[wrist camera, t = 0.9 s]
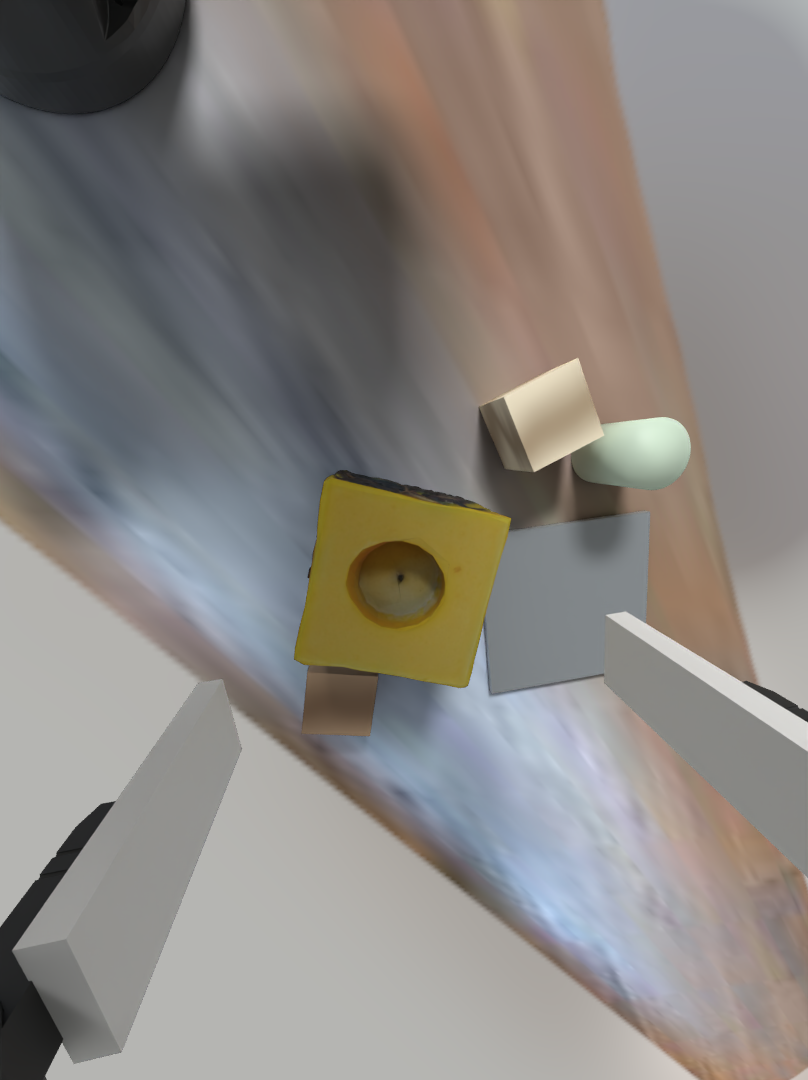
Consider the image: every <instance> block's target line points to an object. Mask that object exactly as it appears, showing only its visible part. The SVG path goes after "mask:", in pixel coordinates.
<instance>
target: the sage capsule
mask: <svg viewBox="0 0 808 1080" xmlns="http://www.w3.org/2000/svg"><path fill="white" fill-rule="evenodd" d="M601 427H602V430H603V433H604V436H602V437H601V438H599V439H597V440H595V441H593V442H591V443H589V444H587V445H585V446H583V447H581V448H579V449H578V450H576V451H574V452H572V453H571V462H572V466H573V469H574V471H575V472H576V474H577V475H578V476H579V477H580V478H581V479H583V480H585V481H587V482H591V483H599V484H607V485H614V486H622V487H630V488H637V489H645V490H658V489H662V488H665V487H667V486H669V485H670V484H672V483H673V482H674V481H676V480H677V479H678V478H679V477H680V475H681V474H682V473H683V471H684V470H685V468H686V466H687V463H688V461H689V457H690V451H691V445H690V439H689V435H688V433H687V431H686V429H685V428H684V427H683V426H682V425H681V424H680V423H679V422H678V421H676V420H674V419H671V418H666V417H659V418H651V419H642V420H634V421H625V422H617V423H608V424H601Z"/></svg>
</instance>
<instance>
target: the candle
mask: <svg viewBox="0 0 808 1080" xmlns="http://www.w3.org/2000/svg"><path fill="white" fill-rule="evenodd" d="M510 522H511V518H509V517H507V516H504V515H500V514H498V513H496V512H491V511H490V510H489V509H486V508H484V507H482V506H481V505H479V504H477V503H475V502H472V501H470V500H464V499H463V498H461V497H459V496H455V497H454V496H452V495H446V494H445V493H440V492H433V491H432V490H423V489H421V488H419V487H416V486H409V485H401V484H399V483H396V482H393V481H389V480H385V479H381V478H372V477H367V476H364V475H358V474H354V473H351V472H349V471H348V470H340V471H337V472H336V473H335V475H331V476H329V477H327V478H326V480H325V481H324V484H323V489H322V494H321V498H320V505H319V515H318V526H317V540H316V543H315V547H314V551H313V557H312V565H311V567H310V569H309V573H308V578H309V584H308V590H307V597H306V603H305V608H304V612H303V616H302V619H301V623H300V627H299V632H298V637H297V641H296V646H295V654H294V660H296V661H298V662H300V663H302V664H304V665H316V666H337V667H346V668H350V669H355V670H359V671H367V672H375V673H382V674H388V675H394V676H400V677H405V678H410V679H415V680H420V681H425V682H431V683H436V684H442V685H447V686H452V687H457V688H464V687H466V686H468V684H469V680H470V677H471V673H472V669H473V664H474V659H475V656H476V652H477V648H478V644H479V640H480V636H481V631H482V626H483V622H484V618H485V615H486V611H487V607H488V603H489V599H490V595H491V592H492V588H493V584H494V581H495V577H496V573H497V570H498V566H499V563H500V559H501V555H502V552H503V549H504V546H505V543H506V540H507V537H508V532H509V527H510Z"/></svg>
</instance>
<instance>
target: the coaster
mask: <svg viewBox="0 0 808 1080" xmlns="http://www.w3.org/2000/svg"><path fill="white" fill-rule="evenodd" d="M649 528H650V512H649V511H638V512H631V513H625V514H618V515H611V516H604V517H597V518H590V519H583V520H576V521H570V522H563V523H556V524H549V525H542V526H535V527H528V528H521V529H515V530H509V532H508V537H507V540H506V543H505V546H504V549H503V552H502V555H501V559H500V563H499V566H498V570H497V573H496V577H495V581H494V584H493V588H492V592H491V595H490V599H489V603H488V607H487V611H486V615H485V618H484V624H485V638H486V651H487V664H488V678H489V690H490V692H491V694H494V693H500V692H505V691H511V690H516V689H522V688H527V687H533V686H539V685H544V684H550V683H555V682H561V681H566V680H572V679H577V678H583V677H588V676H594V675H599V674H604V669H605V615H608V614H614V613H620V612H628V613H629V614H631V615H632V616H634V617H636V618H637V619H639V620H641V621H642V622H644V623H646V606H647V580H648V554H649Z"/></svg>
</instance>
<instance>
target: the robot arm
mask: <svg viewBox="0 0 808 1080" xmlns="http://www.w3.org/2000/svg"><path fill="white" fill-rule="evenodd" d="M185 3H186V0H0V95H2V96H4V97H6V98H8V99H10V100H13V101H15V102H18V103H20V104H23V105H26V106H29V107H32V108H36V109H40V110H44V111H50V112H56V113H89V112H94V111H99V110H103V109H106V108H110V107H112V106H115V105H117V104H119V103H121V102H123V101H125V100H127V99H129V98H130V97H132V96H133V95H135V94H136V93H138V92H139V91H140V90H141V89H143V88H144V87H145V86H146V85H147V84H148V83H149V82H150V81H151V80H152V79H153V78H154V77H155V75H156V74H157V73H158V72H159V70H160V69H161V67H162V66H163V65H164V63H165V61H166V60H167V58H168V56H169V55H170V52H171V50H172V48H173V46H174V44H175V41H176V39H177V36H178V33H179V30H180V27H181V23H182V19H183V14H184V9H185ZM604 683H605V684H606V685H607V686H608V687H609V688H610V689H611V690H612V691H613V692H614V693H615V694H616V695H617V696H618V697H620V698H621V699H622V700H623V701H624V702H625V703H626V704H627V705H628V706H629V707H630V708H631V709H632V710H633V711H634V712H635V713H636V714H637V715H638V716H639V717H640V718H641V719H642V720H644V721H645V722H646V723H647V724H648V725H649V726H650V727H651V728H652V729H653V730H654V731H655V732H656V733H657V734H658V735H659V736H660V737H661V738H662V739H663V740H664V741H665V742H667V743H668V744H669V745H670V746H671V747H672V748H673V749H674V750H675V751H676V752H677V753H678V754H679V755H680V756H681V757H682V758H683V759H684V760H685V761H686V762H687V763H688V764H689V765H691V766H692V767H693V768H694V769H695V770H696V771H697V772H698V773H699V774H700V775H701V776H702V777H703V778H704V779H705V780H706V781H707V782H708V783H709V784H710V785H711V786H712V787H713V788H715V789H716V790H717V791H718V792H719V793H720V794H721V795H722V796H723V797H724V798H725V799H726V800H727V801H728V802H729V803H730V804H731V805H732V806H733V807H734V808H735V809H736V810H738V811H739V812H740V813H741V814H742V815H743V816H744V817H745V818H746V819H747V820H748V821H749V822H750V823H751V824H752V825H753V826H754V827H755V828H756V829H757V830H758V831H759V832H760V833H762V834H763V835H764V836H765V837H766V838H767V839H768V840H769V841H770V842H771V843H772V844H773V845H774V846H775V847H776V848H777V849H778V850H779V851H780V852H781V853H782V854H783V855H784V856H786V857H787V858H788V859H789V860H790V861H791V862H792V863H793V864H794V865H795V866H796V867H797V868H798V869H799V870H800V871H801V872H802V873H803V874H804V875H805V876H806V877H807V878H808V711H806V710H804V709H803V708H802V709H799V708H798V706H797V705H796V704H794V703H792V702H791V701H789V700H787V699H785V698H784V697H782V696H780V695H779V694H777V693H775V692H773V691H771V690H768V689H766V688H763V687H761V686H758V685H756V684H753V683H750V682H748V681H744V682H741V681H739V680H737V679H736V678H734V677H732V676H731V675H729V674H727V673H726V672H724V671H723V670H721V669H719V668H718V667H716V666H714V665H713V664H711V663H709V662H708V661H706V660H705V659H703V658H701V657H700V656H698V655H696V654H695V653H693V652H691V651H690V650H688V649H686V648H685V647H683V646H682V645H680V644H678V643H677V642H675V641H673V640H672V639H670V638H668V637H667V636H665V635H664V634H662V633H660V632H659V631H657V630H655V629H654V628H652V627H650V626H649V625H647V624H646V623H644V622H642V621H641V620H639V619H637V618H636V617H634V616H632V615H631V614H629V613H628V612H620V613H614V614H608V615H605V669H604ZM241 750H242V748H241V744H240V741H239V737H238V733H237V729H236V726H235V722H234V718H233V715H232V711H231V707H230V704H229V700H228V697H227V693H226V689H225V686H224V682H223V679H219V680H213V681H207V682H201V683H198V684H197V685H196V687H195V688H194V690H193V691H192V693H191V694H190V696H189V697H188V698H187V700H186V701H185V703H184V704H183V706H182V707H181V708H180V710H179V711H178V713H177V714H176V716H175V717H174V719H173V720H172V722H171V723H170V724H169V726H168V727H167V729H166V730H165V732H164V733H163V735H162V736H161V737H160V739H159V740H158V741H157V743H156V745H155V746H154V747H153V749H152V750H151V752H150V753H149V755H148V756H147V757H146V759H145V760H144V762H143V763H142V764H141V766H140V767H139V769H138V770H137V772H136V773H135V775H134V776H133V777H132V779H131V781H130V782H129V783H128V785H127V786H126V787H125V789H124V790H123V792H122V793H121V795H120V796H119V798H118V799H117V801H114V802H109V803H104V804H101V805H99V806H98V807H97V808H96V809H95V810H94V811H93V812H92V813H91V814H90V815H88V816H87V817H86V818H85V819H84V820H83V821H82V822H81V823H80V824H79V825H78V826H77V827H75V829H74V830H73V831H72V833H71V834H70V835H69V837H68V838H67V840H66V841H65V842H64V843H63V845H62V846H61V848H60V849H59V850H58V851H57V855H56V857H54V858H52V859H51V861H50V862H49V863H48V865H47V866H46V867H45V869H44V870H43V871H42V873H41V874H40V878H39V880H36V881H35V882H34V883H33V884H32V886H31V887H30V888H29V890H28V891H27V892H26V894H25V895H24V896H23V898H22V899H21V900H20V902H19V903H18V904H17V906H16V907H15V908H14V910H13V911H12V912H11V914H10V915H9V916H8V918H7V919H6V920H5V922H4V923H3V924H2V926H1V927H0V1080H47V1079H46V1077H45V1075H46V1073H47V1071H48V1069H49V1067H50V1065H51V1063H52V1061H53V1059H54V1057H55V1055H56V1053H57V1051H58V1049H59V1047H60V1045H61V1043H63V1045H64V1047H65V1049H66V1050H67V1052H68V1054H69V1056H70V1058H71V1059H72V1061H73V1063H74V1064H75V1063H79V1062H84V1061H88V1060H92V1059H96V1058H100V1057H104V1056H109V1055H113V1054H117V1053H121V1052H122V1050H123V1047H124V1045H125V1042H126V1040H127V1037H128V1035H129V1032H130V1030H131V1027H132V1025H133V1022H134V1019H135V1017H136V1015H137V1012H138V1009H139V1007H140V1005H141V1002H142V1000H143V997H144V995H145V992H146V990H147V987H148V984H149V982H150V979H151V977H152V974H153V972H154V969H155V967H156V964H157V962H158V959H159V957H160V954H161V952H162V949H163V946H164V944H165V942H166V939H167V937H168V934H169V932H170V929H171V926H172V924H173V921H174V919H175V916H176V914H177V911H178V909H179V906H180V904H181V901H182V898H183V896H184V894H185V891H186V888H187V886H188V884H189V881H190V878H191V876H192V874H193V871H194V868H195V866H196V863H197V861H198V858H199V856H200V853H201V851H202V848H203V846H204V843H205V841H206V838H207V836H208V833H209V830H210V828H211V826H212V823H213V821H214V818H215V815H216V813H217V810H218V808H219V805H220V803H221V800H222V798H223V795H224V793H225V790H226V788H227V785H228V783H229V780H230V778H231V775H232V773H233V770H234V768H235V765H236V763H237V760H238V757H239V755H240V752H241Z"/></svg>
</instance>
